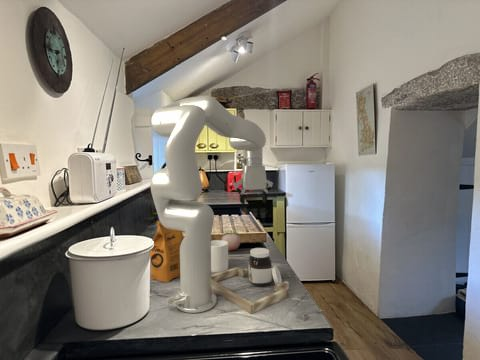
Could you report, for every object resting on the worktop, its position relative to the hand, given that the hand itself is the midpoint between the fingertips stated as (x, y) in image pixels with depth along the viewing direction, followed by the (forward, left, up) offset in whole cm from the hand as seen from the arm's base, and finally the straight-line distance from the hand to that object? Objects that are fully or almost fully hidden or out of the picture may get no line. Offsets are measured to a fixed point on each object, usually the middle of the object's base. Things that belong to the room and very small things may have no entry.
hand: (253, 203), depth 121 cm
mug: (-14, +5, -26) cm, 30 cm away
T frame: (-17, -17, -26) cm, 35 cm away
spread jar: (-10, -17, -26) cm, 33 cm away
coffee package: (-34, +11, -26) cm, 44 cm away
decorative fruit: (+2, +18, -26) cm, 32 cm away
